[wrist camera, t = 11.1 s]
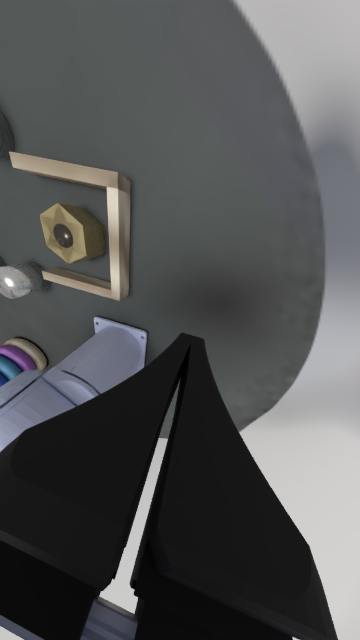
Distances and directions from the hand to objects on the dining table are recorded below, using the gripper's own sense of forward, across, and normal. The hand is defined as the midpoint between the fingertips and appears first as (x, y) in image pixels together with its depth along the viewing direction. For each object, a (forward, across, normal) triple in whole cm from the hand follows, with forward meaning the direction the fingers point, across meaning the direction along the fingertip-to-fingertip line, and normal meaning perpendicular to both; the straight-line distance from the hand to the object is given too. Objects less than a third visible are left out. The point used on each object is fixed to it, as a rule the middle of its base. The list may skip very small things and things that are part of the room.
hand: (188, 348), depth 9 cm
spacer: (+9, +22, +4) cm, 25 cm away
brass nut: (+10, +14, -3) cm, 17 cm away
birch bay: (+9, +14, -3) cm, 17 cm away
